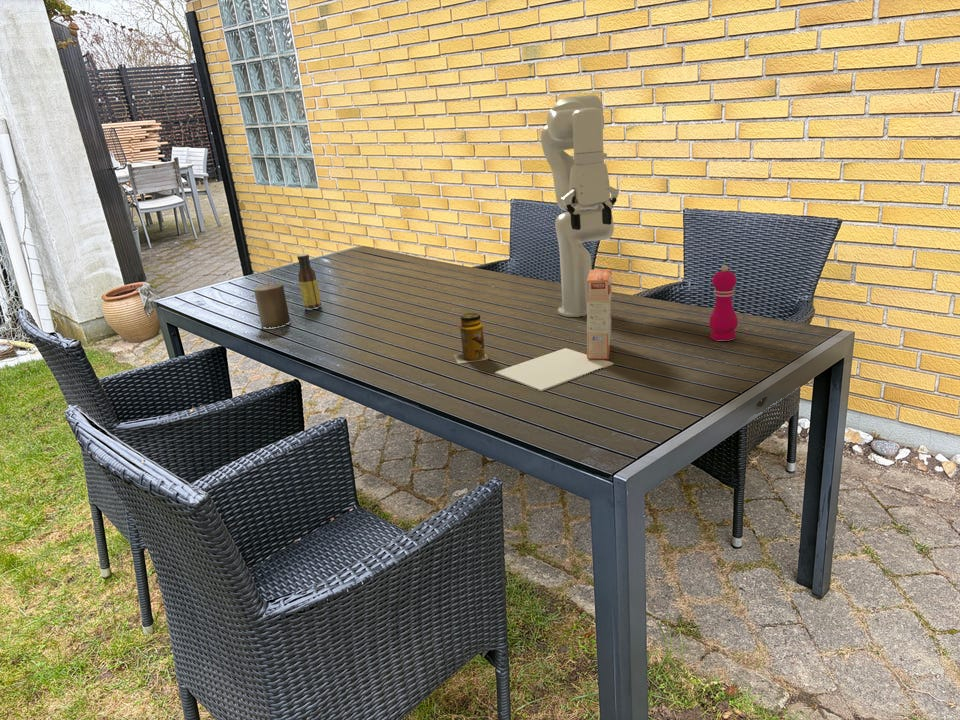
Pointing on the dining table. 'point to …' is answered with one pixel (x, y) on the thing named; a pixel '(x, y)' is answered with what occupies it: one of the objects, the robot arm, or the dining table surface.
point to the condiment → (471, 339)
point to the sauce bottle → (308, 283)
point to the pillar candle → (272, 305)
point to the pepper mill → (723, 306)
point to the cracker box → (598, 314)
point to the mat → (553, 369)
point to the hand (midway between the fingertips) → (591, 226)
